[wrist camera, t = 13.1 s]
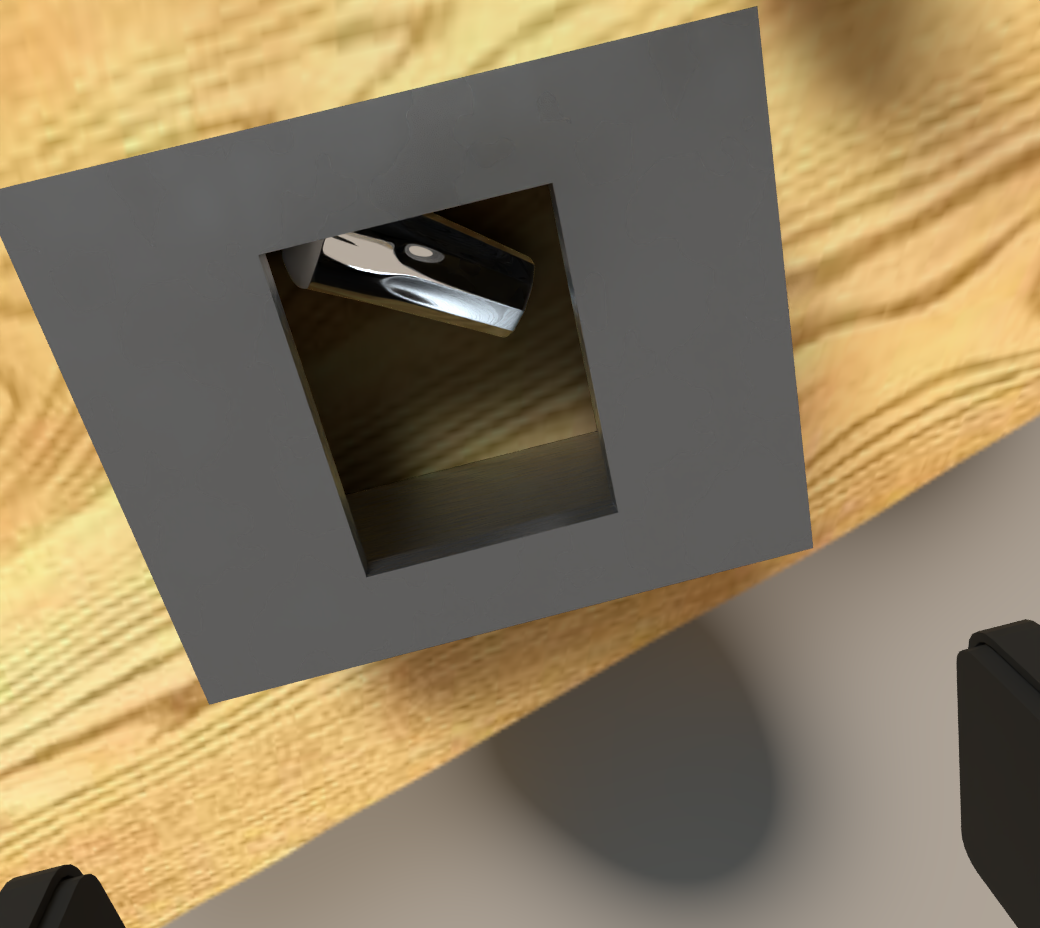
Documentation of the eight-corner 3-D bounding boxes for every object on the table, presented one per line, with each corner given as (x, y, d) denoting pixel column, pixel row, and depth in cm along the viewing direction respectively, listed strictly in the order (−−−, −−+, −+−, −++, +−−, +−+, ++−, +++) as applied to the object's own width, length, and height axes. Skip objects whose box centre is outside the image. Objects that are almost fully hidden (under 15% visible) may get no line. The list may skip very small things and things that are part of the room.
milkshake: (535, 332, 32) (253, 235, 28) (488, 364, 37) (244, 285, 33) (561, 217, 32) (290, 111, 29) (511, 264, 37) (276, 178, 34)
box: (640, 41, 33) (757, 5, 22) (699, 426, 40) (812, 547, 29) (124, 166, 33) (-19, 193, 22) (265, 536, 39) (209, 704, 28)
